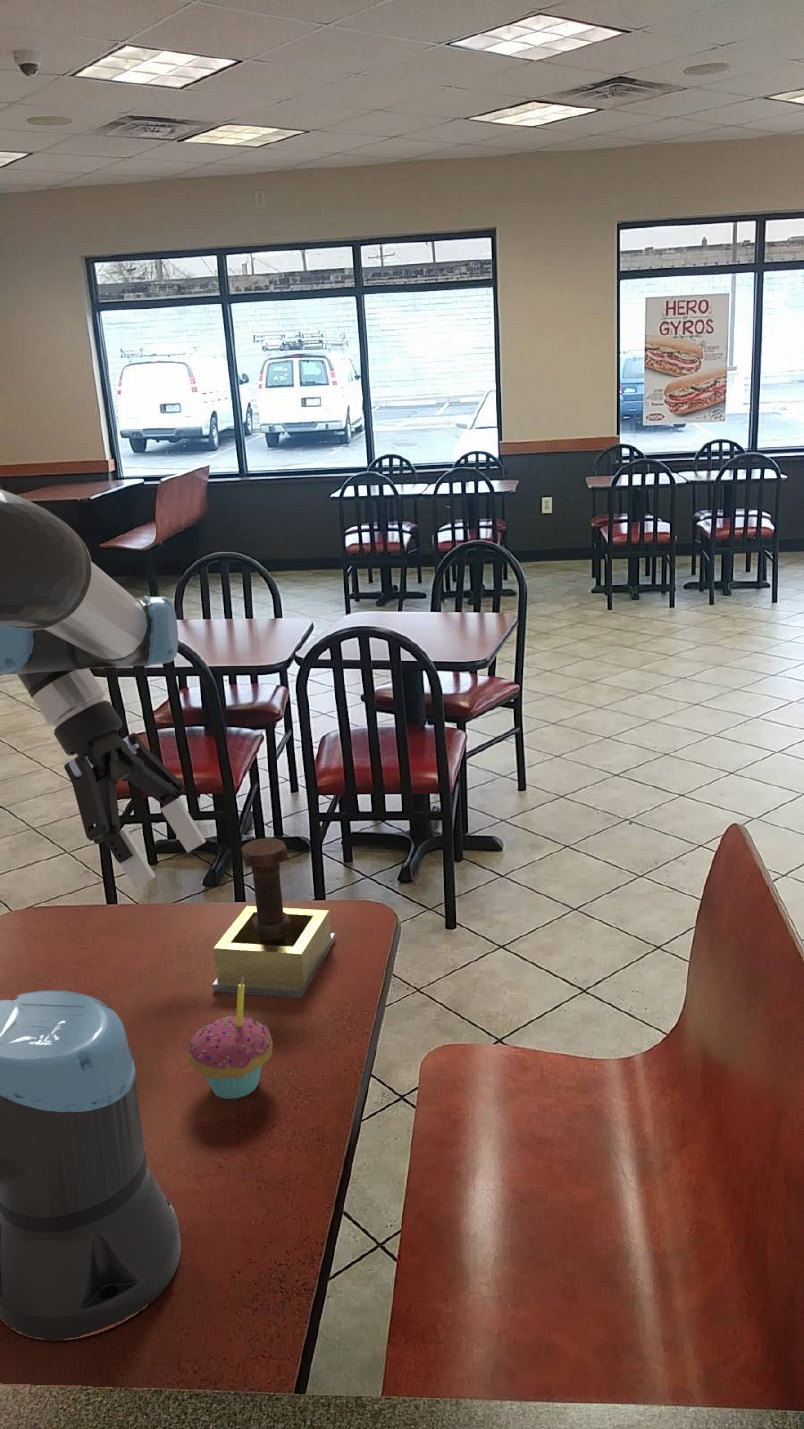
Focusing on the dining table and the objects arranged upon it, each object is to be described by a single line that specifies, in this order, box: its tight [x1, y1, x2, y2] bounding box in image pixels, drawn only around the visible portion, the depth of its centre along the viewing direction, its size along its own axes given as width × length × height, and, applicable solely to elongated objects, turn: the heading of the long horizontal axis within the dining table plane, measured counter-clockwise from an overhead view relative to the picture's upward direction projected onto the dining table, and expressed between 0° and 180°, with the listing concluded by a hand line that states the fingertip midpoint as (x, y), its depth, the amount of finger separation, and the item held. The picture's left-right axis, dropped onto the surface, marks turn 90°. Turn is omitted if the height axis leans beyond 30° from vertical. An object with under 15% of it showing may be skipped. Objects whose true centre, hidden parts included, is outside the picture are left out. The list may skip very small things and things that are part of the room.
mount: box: [212, 905, 336, 1000], centre depth 136 cm, size 14×11×5 cm
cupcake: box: [187, 977, 273, 1100], centre depth 112 cm, size 9×8×12 cm
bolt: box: [240, 837, 291, 946], centre depth 134 cm, size 6×5×15 cm
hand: (172, 864), depth 133 cm, fingers open, 13 cm apart
